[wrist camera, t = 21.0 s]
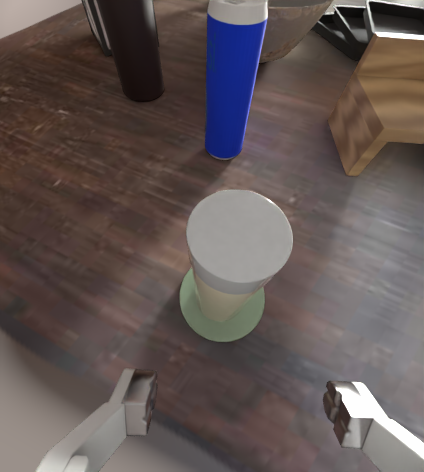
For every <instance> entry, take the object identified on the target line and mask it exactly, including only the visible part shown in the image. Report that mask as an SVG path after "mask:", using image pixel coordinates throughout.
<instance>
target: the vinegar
mask: <svg viewBox="0 0 424 472" xmlns="http://www.w3.org/2000/svg"><path fill="white" fill-rule="evenodd" d="M96 1H97V4H98V8H99V11H100V15H101V18H102V21H103V25H104V28H105V31H106V35H107V38H108V41H109V45H110V48H111V52H112V55H113V58H114V62H115V65H116V68H117V72H118V75H119V78H120V82H121V85H122V89H123V92H124V93H125V95H126V96H127V97H129V98H131V99H133V100H137V101H149V100H153V99H156V98H157V97H159V96H160V95H161V94H162V93H163V90H164V83H163V76H162V69H161V62H160V55H159V48H158V41H157V34H156V27H155V20H154V12H153V5H152V0H96Z"/></svg>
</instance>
